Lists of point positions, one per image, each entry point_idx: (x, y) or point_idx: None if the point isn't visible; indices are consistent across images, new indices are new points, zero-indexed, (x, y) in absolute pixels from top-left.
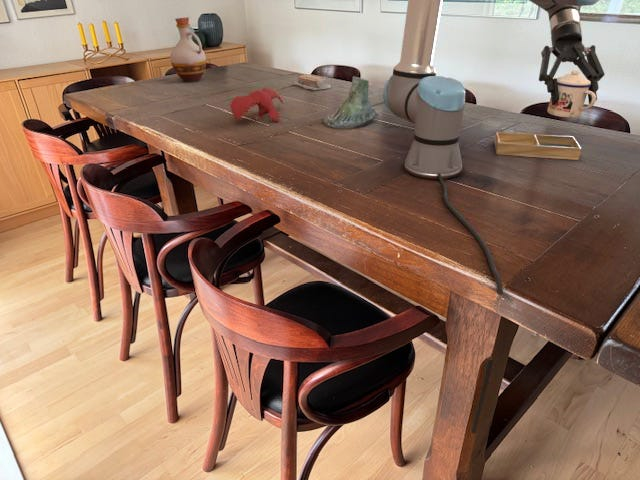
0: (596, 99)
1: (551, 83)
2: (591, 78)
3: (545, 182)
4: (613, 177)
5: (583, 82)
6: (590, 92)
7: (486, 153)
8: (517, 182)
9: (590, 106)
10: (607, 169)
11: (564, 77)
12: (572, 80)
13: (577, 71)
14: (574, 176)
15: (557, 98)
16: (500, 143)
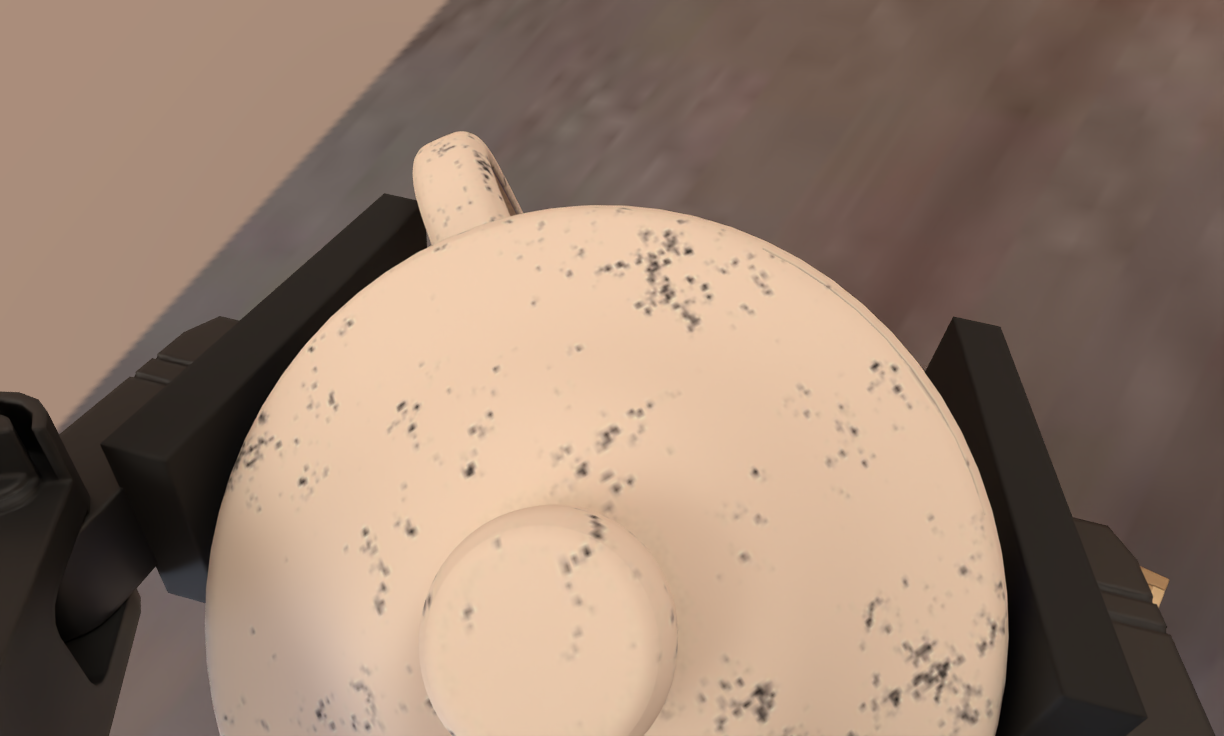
0: (391, 202)
1: (1125, 650)
2: (175, 451)
3: (1018, 18)
4: (564, 20)
5: (557, 244)
6: (480, 179)
7: (1176, 605)
8: (1198, 46)
9: (506, 201)
10: (506, 137)
11: (856, 644)
12: (776, 365)
13: (559, 524)
14: (783, 72)
15: (985, 332)
16: (1152, 572)
